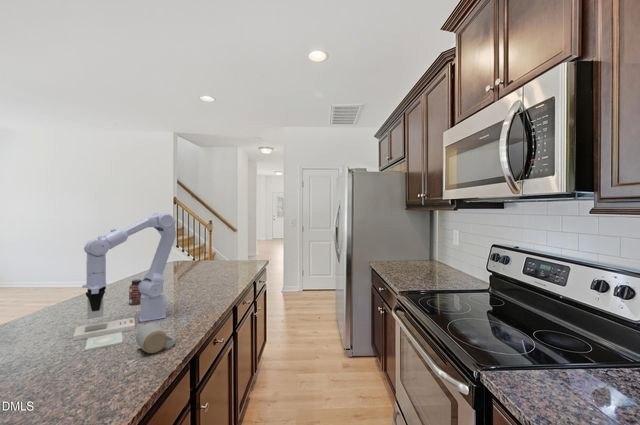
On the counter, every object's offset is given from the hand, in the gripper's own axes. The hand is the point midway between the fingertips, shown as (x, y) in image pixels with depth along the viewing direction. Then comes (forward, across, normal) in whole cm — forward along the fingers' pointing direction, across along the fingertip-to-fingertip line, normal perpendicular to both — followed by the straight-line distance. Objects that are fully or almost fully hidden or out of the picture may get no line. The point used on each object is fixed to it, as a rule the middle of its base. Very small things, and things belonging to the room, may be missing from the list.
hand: (96, 309), depth 111 cm
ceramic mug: (+9, +27, +17) cm, 33 cm away
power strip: (+8, 0, +3) cm, 9 cm away
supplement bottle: (+9, -32, +14) cm, 36 cm away
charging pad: (+8, +12, +3) cm, 15 cm away
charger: (+3, 0, 0) cm, 3 cm away
